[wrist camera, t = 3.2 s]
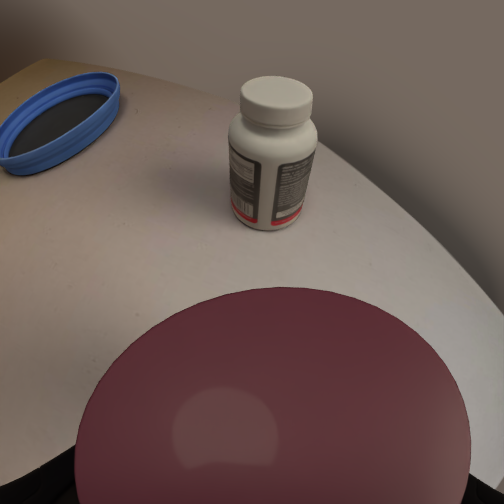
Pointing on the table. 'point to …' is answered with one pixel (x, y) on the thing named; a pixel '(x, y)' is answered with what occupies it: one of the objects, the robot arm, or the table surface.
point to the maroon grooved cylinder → (275, 409)
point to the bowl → (58, 122)
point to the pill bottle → (271, 151)
